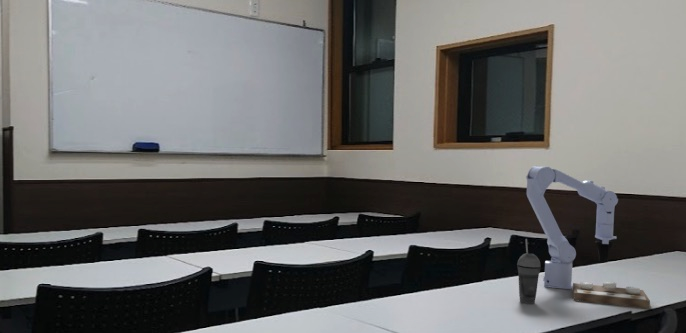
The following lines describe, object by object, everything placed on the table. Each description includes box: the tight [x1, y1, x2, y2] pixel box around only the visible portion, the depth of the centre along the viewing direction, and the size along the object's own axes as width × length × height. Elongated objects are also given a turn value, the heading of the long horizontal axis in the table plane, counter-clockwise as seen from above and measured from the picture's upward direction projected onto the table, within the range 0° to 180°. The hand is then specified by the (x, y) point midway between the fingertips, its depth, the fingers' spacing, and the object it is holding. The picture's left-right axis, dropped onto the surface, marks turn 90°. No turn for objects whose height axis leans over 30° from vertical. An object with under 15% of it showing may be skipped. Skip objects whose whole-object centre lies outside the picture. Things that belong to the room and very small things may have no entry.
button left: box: [579, 281, 594, 290], centre depth 200 cm, size 4×4×2 cm
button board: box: [572, 282, 651, 310], centre depth 197 cm, size 22×16×3 cm
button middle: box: [602, 281, 617, 289], centre depth 197 cm, size 4×4×2 cm
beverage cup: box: [516, 238, 542, 305], centre depth 189 cm, size 7×7×20 cm
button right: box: [625, 286, 641, 294], centre depth 195 cm, size 4×4×2 cm
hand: (603, 261), depth 214 cm, fingers closed
